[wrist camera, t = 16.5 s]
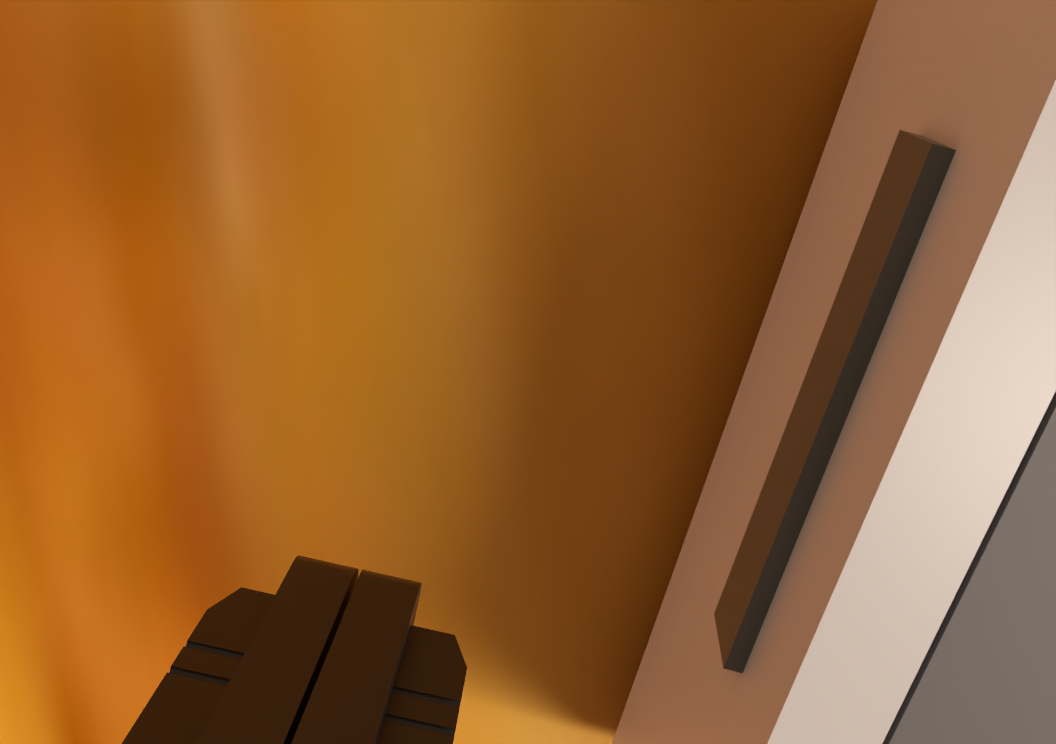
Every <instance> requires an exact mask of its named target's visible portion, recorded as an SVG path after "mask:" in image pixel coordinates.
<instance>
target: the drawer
mask: <svg viewBox="0 0 1056 744" xmlns="http://www.w3.org/2000/svg"><path fill="white" fill-rule="evenodd" d="M1055 391H1056V0H877V3H876V6H875V9H874V12H873V14H872V17H871V20H870V23H869V26H868V28H867V31H866V34H865V37H864V40H863V42H862V45H861V48H860V51H859V54H858V56H857V59H856V62H855V65H854V68H853V70H852V73H851V76H850V79H849V82H848V84H847V87H846V90H845V93H844V96H843V98H842V101H841V104H840V107H839V110H838V112H837V115H836V118H835V121H834V124H833V126H832V129H831V132H830V135H829V138H828V140H827V143H826V146H825V149H824V151H823V154H822V157H821V160H820V163H819V165H818V168H817V171H816V174H815V177H814V179H813V182H812V185H811V188H810V191H809V193H808V196H807V199H806V202H805V205H804V207H803V210H802V213H801V216H800V219H799V221H798V224H797V227H796V230H795V233H794V235H793V238H792V241H791V244H790V247H789V249H788V252H787V255H786V258H785V261H784V263H783V266H782V269H781V272H780V275H779V277H778V280H777V283H776V286H775V289H774V291H773V294H772V297H771V300H770V303H769V305H768V308H767V311H766V314H765V317H764V319H763V322H762V325H761V328H760V331H759V333H758V336H757V339H756V342H755V344H754V347H753V350H752V353H751V356H750V358H749V361H748V364H747V367H746V370H745V372H744V375H743V378H742V381H741V384H740V386H739V389H738V392H737V395H736V398H735V400H734V403H733V406H732V409H731V412H730V414H729V417H728V420H727V423H726V426H725V428H724V431H723V434H722V437H721V440H720V442H719V445H718V448H717V451H716V454H715V456H714V459H713V462H712V465H711V468H710V470H709V473H708V476H707V479H706V482H705V484H704V487H703V490H702V493H701V496H700V498H699V501H698V504H697V507H696V510H695V512H694V515H693V518H692V521H691V524H690V526H689V529H688V532H687V535H686V538H685V540H684V543H683V546H682V549H681V551H680V554H679V557H678V560H677V563H676V565H675V568H674V571H673V574H672V577H671V579H670V582H669V585H668V588H667V591H666V593H665V596H664V599H663V602H662V605H661V607H660V610H659V613H658V616H657V619H656V621H655V624H654V627H653V630H652V633H651V635H650V638H649V641H648V644H647V647H646V649H645V652H644V655H643V658H642V661H641V663H640V666H639V669H638V672H637V675H636V677H635V680H634V683H633V686H632V689H631V691H630V694H629V697H628V700H627V703H626V705H625V708H624V711H623V714H622V717H621V719H620V722H619V725H618V728H617V731H616V733H615V736H614V739H613V742H612V744H882V743H883V741H884V739H885V737H886V735H887V733H888V731H889V729H890V727H891V725H892V723H893V721H894V719H895V717H896V715H897V713H898V711H899V709H900V707H901V705H902V703H903V701H904V699H905V697H906V695H907V693H908V691H909V688H910V686H911V684H912V682H913V680H914V678H915V676H916V674H917V672H918V670H919V668H920V666H921V664H922V662H923V660H924V658H925V656H926V654H927V652H928V650H929V648H930V646H931V644H932V642H933V640H934V638H935V636H936V634H937V632H938V629H939V627H940V625H941V623H942V621H943V619H944V617H945V615H946V613H947V611H948V609H949V607H950V605H951V603H952V601H953V599H954V597H955V595H956V593H957V591H958V589H959V587H960V585H961V583H962V581H963V579H964V577H965V575H966V573H967V570H968V568H969V566H970V564H971V562H972V560H973V558H974V556H975V554H976V552H977V550H978V548H979V546H980V544H981V542H982V540H983V538H984V536H985V534H986V532H987V530H988V528H989V526H990V524H991V522H992V520H993V518H994V516H995V514H996V512H997V509H998V507H999V505H1000V503H1001V501H1002V499H1003V497H1004V495H1005V493H1006V491H1007V489H1008V487H1009V485H1010V483H1011V481H1012V479H1013V477H1014V475H1015V473H1016V471H1017V469H1018V467H1019V465H1020V463H1021V461H1022V459H1023V457H1024V455H1025V453H1026V450H1027V448H1028V446H1029V444H1030V442H1031V440H1032V438H1033V436H1034V434H1035V432H1036V430H1037V428H1038V426H1039V424H1040V422H1041V420H1042V418H1043V416H1044V414H1045V412H1046V410H1047V408H1048V406H1049V404H1050V402H1051V400H1052V398H1053V396H1054V394H1055Z"/></svg>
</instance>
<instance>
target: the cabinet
mask: <svg viewBox="0 0 1056 744" xmlns="http://www.w3.org/2000/svg"><path fill="white" fill-rule="evenodd" d="M882 744H1056V391H1055V394H1054V396H1053V398H1052V400H1051V402H1050V404H1049V406H1048V408H1047V410H1046V412H1045V414H1044V416H1043V418H1042V420H1041V422H1040V424H1039V426H1038V428H1037V430H1036V432H1035V434H1034V436H1033V438H1032V440H1031V442H1030V444H1029V446H1028V448H1027V450H1026V453H1025V455H1024V457H1023V459H1022V461H1021V463H1020V465H1019V467H1018V469H1017V471H1016V473H1015V475H1014V477H1013V479H1012V481H1011V483H1010V485H1009V487H1008V489H1007V491H1006V493H1005V495H1004V497H1003V499H1002V501H1001V503H1000V505H999V507H998V509H997V512H996V514H995V516H994V518H993V520H992V522H991V524H990V526H989V528H988V530H987V532H986V534H985V536H984V538H983V540H982V542H981V544H980V546H979V548H978V550H977V552H976V554H975V556H974V558H973V560H972V562H971V564H970V566H969V568H968V570H967V573H966V575H965V577H964V579H963V581H962V583H961V585H960V587H959V589H958V591H957V593H956V595H955V597H954V599H953V601H952V603H951V605H950V607H949V609H948V611H947V613H946V615H945V617H944V619H943V621H942V623H941V625H940V627H939V629H938V632H937V634H936V636H935V638H934V640H933V642H932V644H931V646H930V648H929V650H928V652H927V654H926V656H925V658H924V660H923V662H922V664H921V666H920V668H919V670H918V672H917V674H916V676H915V678H914V680H913V682H912V684H911V686H910V688H909V691H908V693H907V695H906V697H905V699H904V701H903V703H902V705H901V707H900V709H899V711H898V713H897V715H896V717H895V719H894V721H893V723H892V725H891V727H890V729H889V731H888V733H887V735H886V737H885V739H884V741H883V743H882Z"/></svg>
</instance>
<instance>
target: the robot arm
mask: <svg viewBox="0 0 1056 744" xmlns="http://www.w3.org/2000/svg"><path fill="white" fill-rule="evenodd" d="M421 585H422V583H419V582H415V581H410V580H406V579H401V578H397V577H393V576H388V575H384V574H379V573H375V572H370V571H366V570H362V571H361V573H360V576H359V578H358V569H356V568H352V567H347V566H343V565H338V564H334V563H330V562H325V561H321V560H316V559H312V558H307V557H303V556H297V557H296V558H295V560H294V562H293V563H292V565H291V567H290V569H289V571H288V573H287V575H286V576H285V578H284V580H283V582H282V584H281V586H280V588H279V589H278V591H277V593H276V595H273V594H268V593H264V592H259V591H255V590H250V589H246V588H242V587H241V588H240V589H238V590H237V591H235V592H234V593H232V594H231V595H229V596H228V597H226V598H224V599H223V600H221V601H220V602H218V603H217V604H215V605H214V606H212V607H211V608H209V609H207V611H206V612H205V614H204V615H203V617H202V618H201V620H200V622H199V623H198V625H197V626H196V628H195V629H194V631H193V633H192V634H191V636H190V637H189V639H188V641H187V645H186V647H183V648H182V650H181V651H180V653H179V655H178V656H177V658H176V659H175V661H174V662H173V664H172V666H171V669H170V672H169V673H166V675H165V677H164V678H163V680H162V681H161V683H160V684H159V686H158V688H157V689H156V691H155V692H154V694H153V695H152V697H151V699H150V700H149V702H148V703H147V705H146V706H145V708H144V710H143V711H142V713H141V714H140V716H139V717H138V719H137V721H136V722H135V724H134V725H133V727H132V728H131V730H130V732H129V733H128V735H127V736H126V738H125V739H124V741H123V743H122V744H453V740H454V733H455V729H456V724H457V718H458V713H459V706H460V702H461V697H462V691H463V686H464V681H465V675H466V670H467V667H466V664H465V661H464V659H463V656H462V653H461V651H460V648H459V645H458V643H457V640H456V637H455V635H452V634H447V633H443V632H438V631H434V630H429V629H425V628H421V627H416V626H413V624H414V619H415V615H416V610H417V605H418V601H419V596H420V591H421Z"/></svg>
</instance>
